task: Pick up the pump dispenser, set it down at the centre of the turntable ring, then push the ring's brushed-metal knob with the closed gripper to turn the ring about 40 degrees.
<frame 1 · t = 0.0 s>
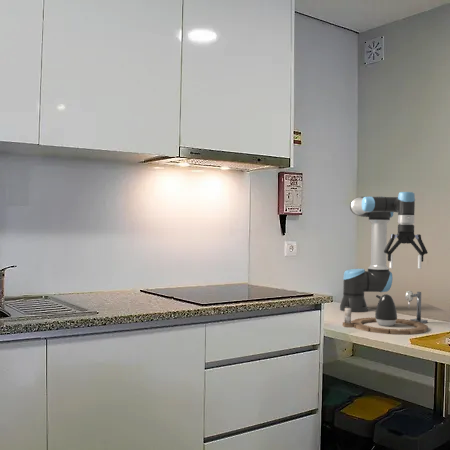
hand: (405, 268, 265), 28 cm above the table, tool pointing down, fingers open, 13 cm apart
turntable ring: (384, 317, 262), point 5 cm above the table, hinge at 0.0°
dial indicator stand: (418, 322, 276), on the table
pump dispenser: (385, 326, 267), resting in turntable ring
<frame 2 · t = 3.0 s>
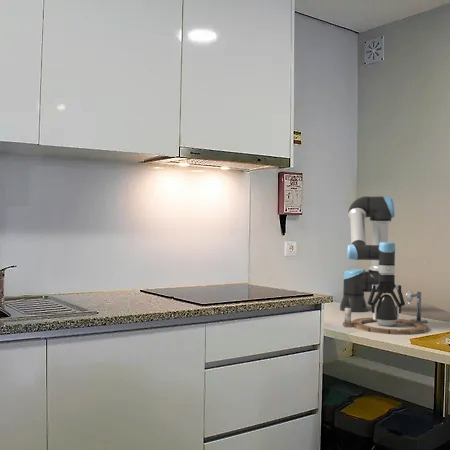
hand: (385, 319, 267), 3 cm above the table, tool pointing down, fingers closed on pump dispenser, 10 cm apart
pump dispenser: (385, 326, 267), resting in turntable ring, touching gripper
everything else where it was.
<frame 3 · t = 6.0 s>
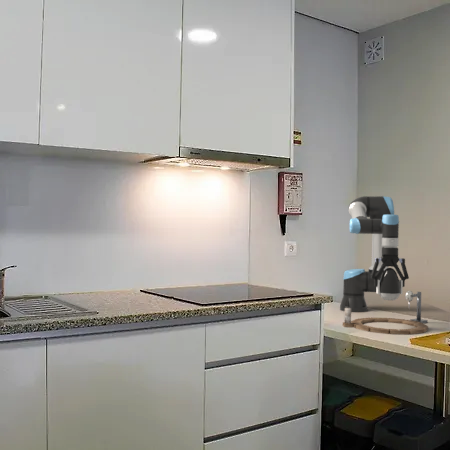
hand: (389, 293, 262), 16 cm above the table, tool pointing down, fingers closed on pump dispenser, 10 cm apart
pump dispenser: (389, 300, 262), point 13 cm above the table, touching gripper
everything else where it was.
when the fingers open (4 cm above the table, at t = 9.1 s): pump dispenser drops 1 cm, resting in turntable ring.
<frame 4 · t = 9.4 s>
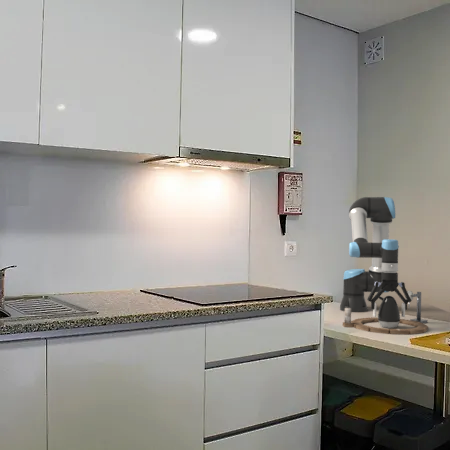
hand: (388, 316, 262), 5 cm above the table, tool pointing down, fingers open, 13 cm apart
pump dispenser: (388, 328, 262), resting in turntable ring
everything else where it was.
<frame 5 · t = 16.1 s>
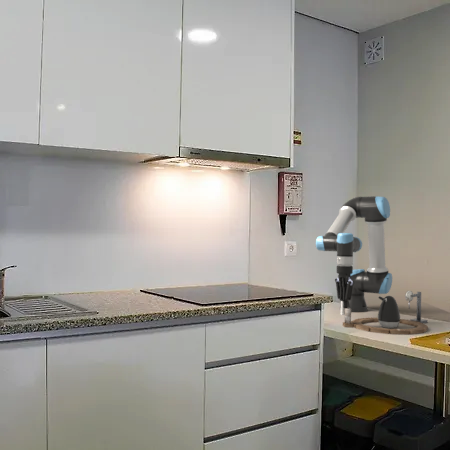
hand: (343, 314, 264), 6 cm above the table, tool pointing down, fingers closed
turntable ring: (384, 317, 262), point 5 cm above the table, hinge at 0.3°, touching gripper
everything else where it was.
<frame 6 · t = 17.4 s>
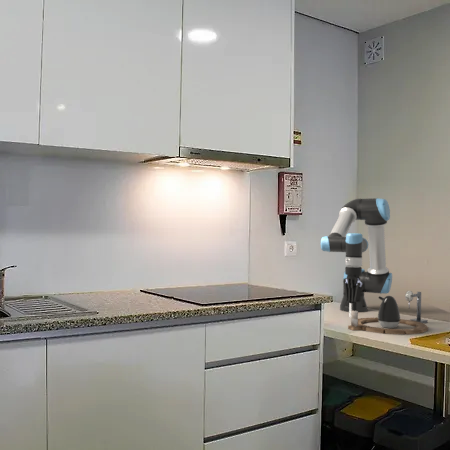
hand: (352, 316, 257), 6 cm above the table, tool pointing down, fingers closed
turntable ring: (385, 318, 261), point 5 cm above the table, hinge at 22.5°, touching gripper
everything else where it was.
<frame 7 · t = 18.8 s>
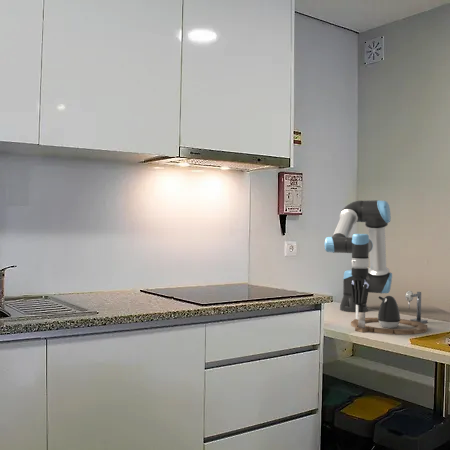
hand: (359, 318, 253), 5 cm above the table, tool pointing down, fingers closed
turntable ring: (385, 318, 261), point 5 cm above the table, hinge at 36.4°, touching gripper
everything else where it was.
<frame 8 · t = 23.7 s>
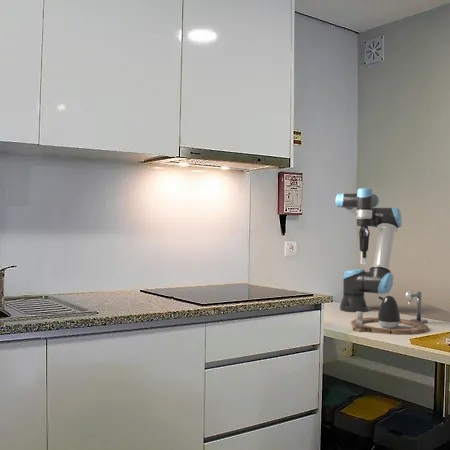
hand: (363, 264, 284), 28 cm above the table, tool pointing down, fingers closed
turntable ring: (385, 318, 261), point 5 cm above the table, hinge at 32.0°
everything else where it was.
at the end: pump dispenser 0.1 cm from the turntable ring (horizontally); pump dispenser tilted 0°; turntable ring at +32° (first picture: +0°) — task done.
